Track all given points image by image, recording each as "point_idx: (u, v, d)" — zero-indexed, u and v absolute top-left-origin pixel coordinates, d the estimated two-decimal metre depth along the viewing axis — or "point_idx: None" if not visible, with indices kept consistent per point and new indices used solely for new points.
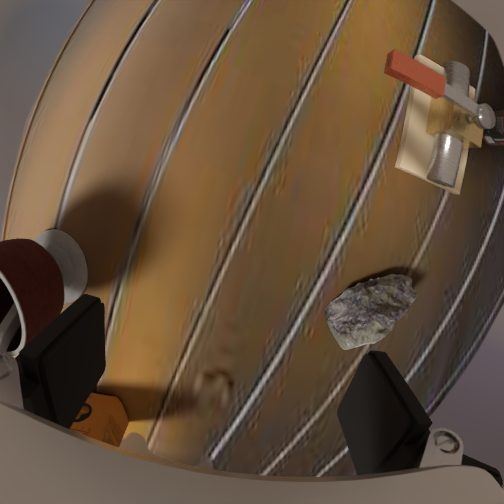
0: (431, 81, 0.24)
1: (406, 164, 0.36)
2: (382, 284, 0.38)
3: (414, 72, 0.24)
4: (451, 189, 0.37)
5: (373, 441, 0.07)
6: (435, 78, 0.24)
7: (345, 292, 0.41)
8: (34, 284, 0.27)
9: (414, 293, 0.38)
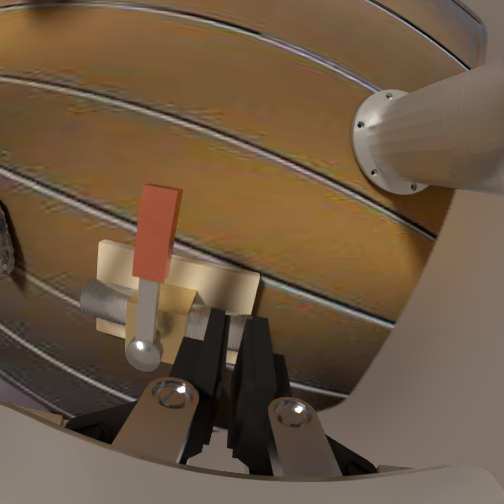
0: (145, 255, 0.21)
1: (103, 251, 0.32)
2: None
3: (149, 224, 0.21)
4: None
5: (236, 404, 0.08)
6: (153, 263, 0.22)
7: None
8: None
9: None
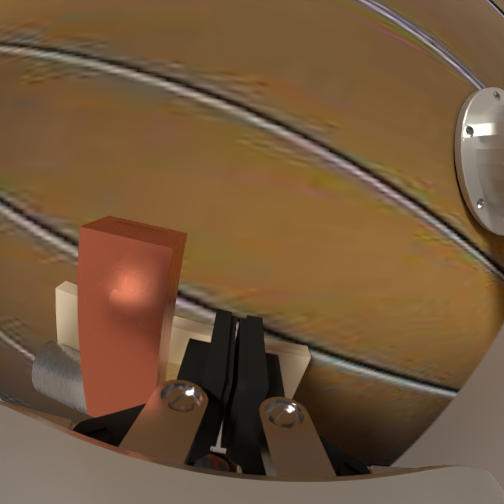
0: (107, 386, 0.08)
1: (63, 302, 0.19)
2: None
3: (104, 328, 0.08)
4: None
5: (229, 404, 0.08)
6: (126, 403, 0.08)
7: None
8: None
9: None
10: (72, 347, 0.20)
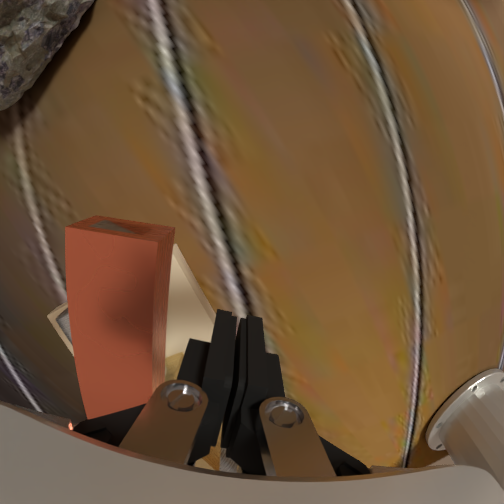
0: (104, 390, 0.08)
1: None
2: (34, 44, 0.11)
3: (96, 330, 0.07)
4: (62, 310, 0.18)
5: (229, 404, 0.08)
6: (124, 405, 0.08)
7: None
8: None
9: None
10: None
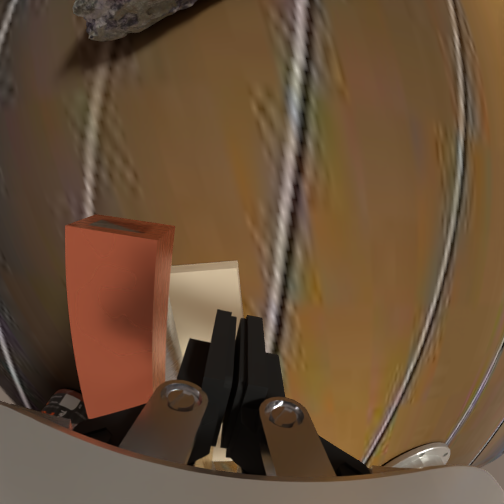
0: (104, 388, 0.08)
1: (221, 281, 0.18)
2: None
3: (96, 328, 0.07)
4: None
5: (228, 404, 0.08)
6: (125, 404, 0.08)
7: None
8: None
9: (80, 9, 0.11)
10: None
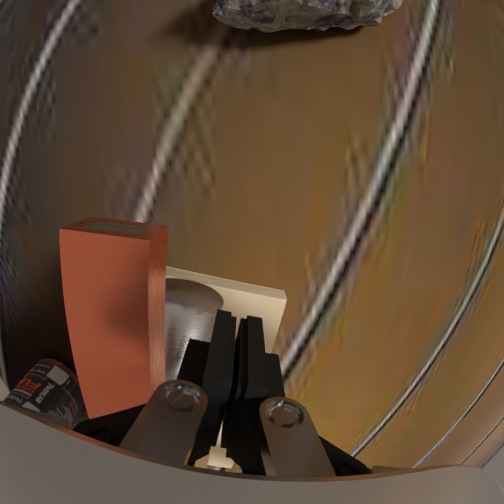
0: (104, 390, 0.08)
1: (268, 307, 0.19)
2: (319, 10, 0.12)
3: (93, 330, 0.07)
4: None
5: (229, 404, 0.08)
6: (125, 406, 0.08)
7: None
8: None
9: None
10: None
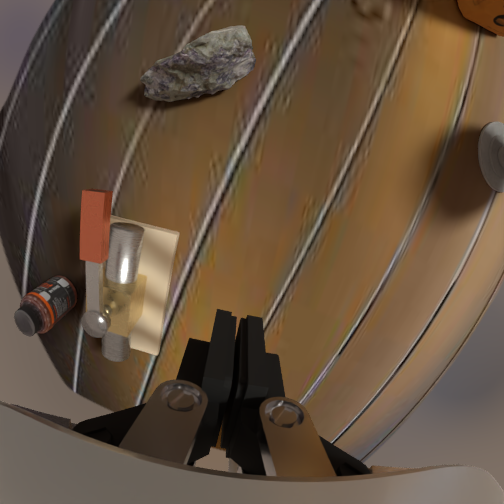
0: (87, 242, 0.26)
1: (168, 238, 0.37)
2: (187, 92, 0.30)
3: (88, 219, 0.26)
4: None
5: (229, 404, 0.08)
6: (93, 248, 0.27)
7: (230, 85, 0.32)
8: None
9: (144, 80, 0.29)
10: None
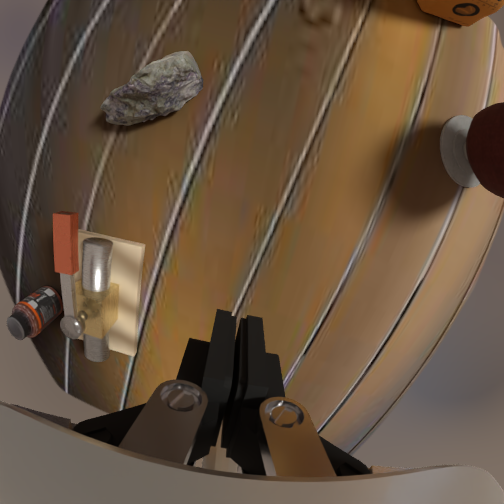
0: (60, 257, 0.30)
1: (135, 250, 0.40)
2: (140, 117, 0.33)
3: (59, 238, 0.29)
4: (81, 234, 0.39)
5: (229, 404, 0.08)
6: (64, 262, 0.30)
7: (180, 106, 0.35)
8: (496, 162, 0.25)
9: (103, 108, 0.32)
10: None
